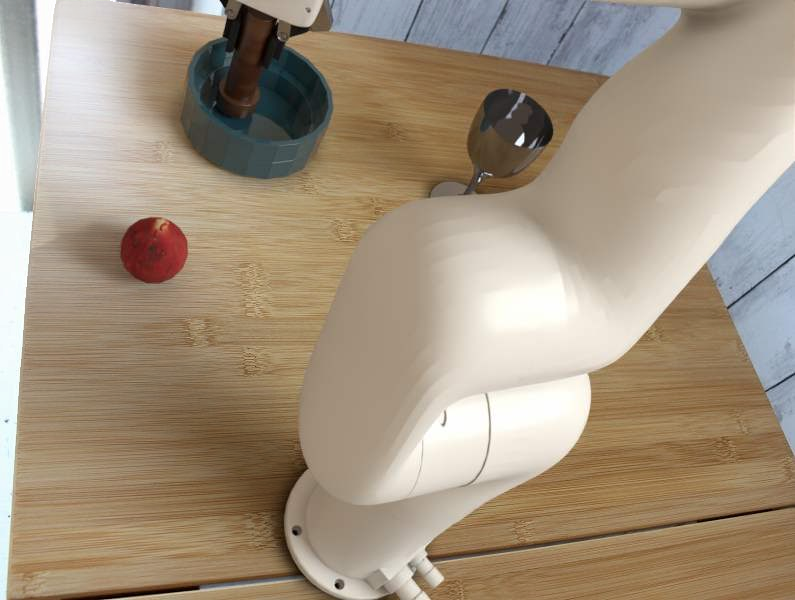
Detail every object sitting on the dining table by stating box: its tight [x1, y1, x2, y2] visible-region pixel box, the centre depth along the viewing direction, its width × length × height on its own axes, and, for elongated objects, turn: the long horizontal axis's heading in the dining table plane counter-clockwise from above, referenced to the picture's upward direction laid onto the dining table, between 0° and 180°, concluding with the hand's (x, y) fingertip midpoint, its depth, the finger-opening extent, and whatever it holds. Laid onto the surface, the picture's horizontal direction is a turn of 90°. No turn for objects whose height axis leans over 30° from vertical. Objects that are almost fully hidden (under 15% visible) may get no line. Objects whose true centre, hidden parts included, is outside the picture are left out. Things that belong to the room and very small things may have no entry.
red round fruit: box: [119, 216, 189, 284], centre depth 74 cm, size 6×6×8 cm
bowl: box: [179, 37, 334, 180], centre depth 89 cm, size 15×15×6 cm
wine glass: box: [429, 88, 554, 198], centre depth 90 cm, size 8×8×15 cm
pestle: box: [216, 5, 279, 118], centre depth 85 cm, size 4×4×13 cm
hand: (251, 50), depth 84 cm, fingers closed on pestle, 3 cm apart
